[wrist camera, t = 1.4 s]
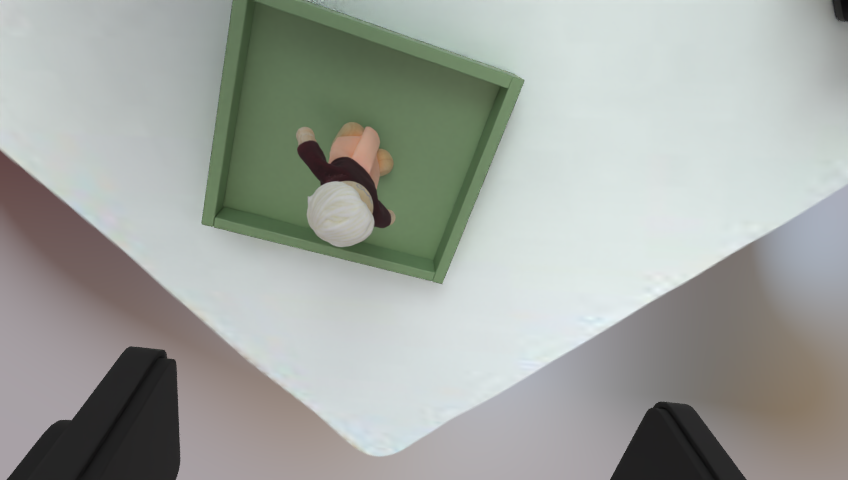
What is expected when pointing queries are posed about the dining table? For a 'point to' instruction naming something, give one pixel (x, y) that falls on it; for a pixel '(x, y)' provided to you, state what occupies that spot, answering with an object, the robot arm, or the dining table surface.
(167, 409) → the robot arm
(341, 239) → the grandmother figurine
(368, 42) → the tray
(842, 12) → the end cap
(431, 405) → the dining table surface
